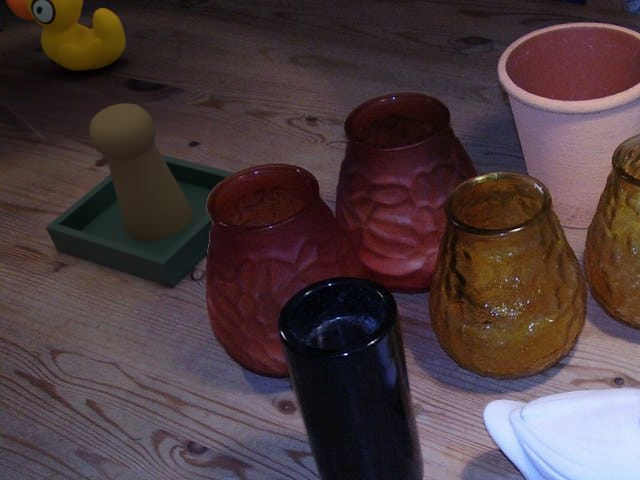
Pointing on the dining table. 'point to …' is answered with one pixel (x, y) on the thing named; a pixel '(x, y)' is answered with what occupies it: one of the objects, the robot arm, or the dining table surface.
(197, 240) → the tray
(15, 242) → the dining table surface
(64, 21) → the duckling
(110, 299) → the dining table surface
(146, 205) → the brown piece
